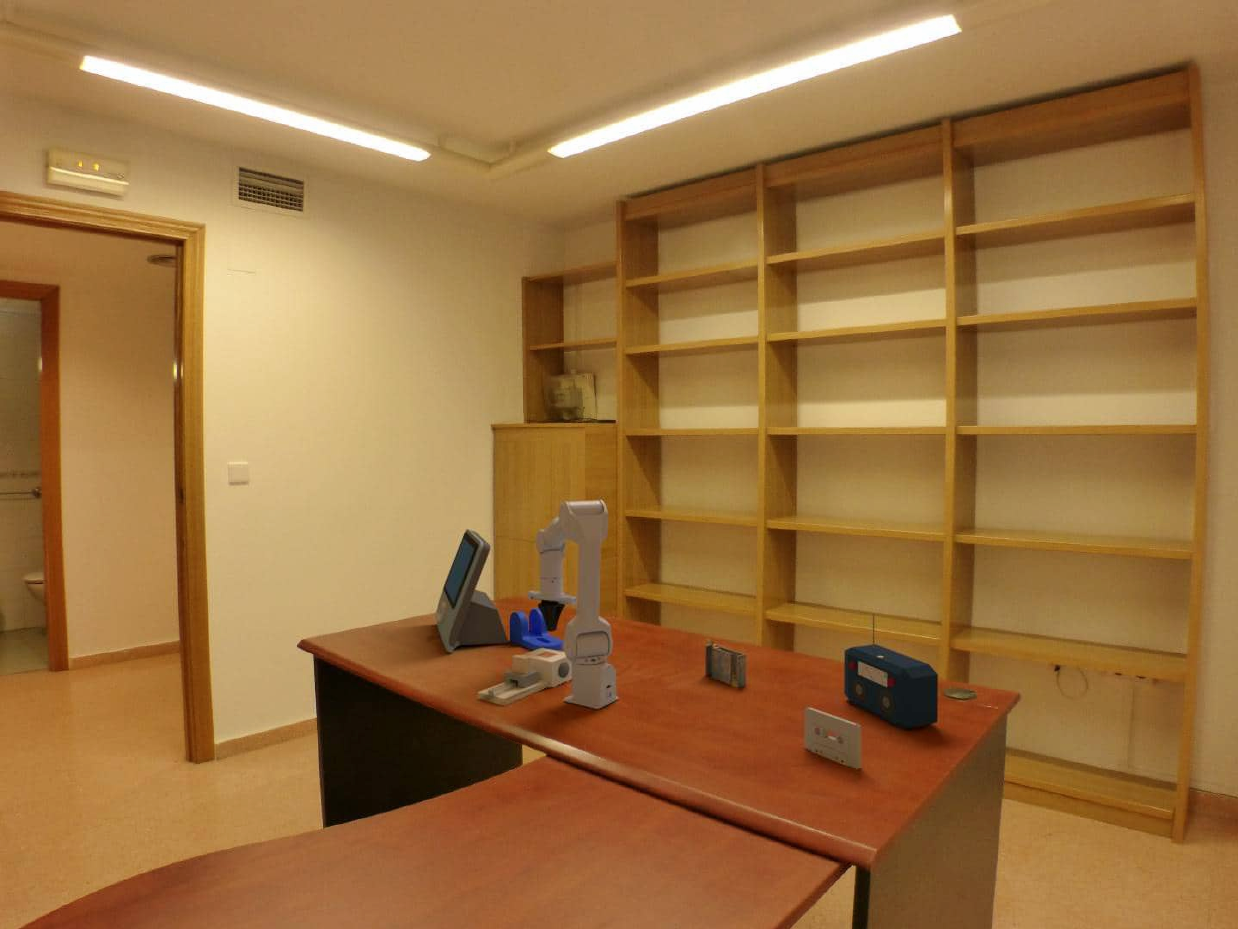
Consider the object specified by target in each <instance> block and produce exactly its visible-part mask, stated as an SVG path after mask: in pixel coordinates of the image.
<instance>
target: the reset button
mask: <svg viewBox="0 0 1238 929" xmlns="http://www.w3.org/2000/svg"><path fill="white" fill-rule="evenodd" d="M539 656H541V657H546V658H549V657H552V656H554V654H549V653H545V654H542V655H539Z"/></svg>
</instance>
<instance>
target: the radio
mask: <svg viewBox="0 0 1238 929" xmlns="http://www.w3.org/2000/svg"><path fill="white" fill-rule="evenodd" d="M843 665H844V675H843V677H844V681H843V682H844V690H843V692H844V693H843V694H844V695H845V696H846V698H847V699H848V701H849V702H850V703H851V704H852V705H854V706H857V707H858V708H860V709H862V710H865V711H866V712H867V713H870V714H872V715H874V716H876V717H878V718H880V719H882V720H884V721H886V722H888V723H890V724H892V725H894V726H895V727H898V728H900V729H901V730H906V729H907V730H908V729H913V728H919V727H924V726H925V727H926V726H929V725H933V724H935V723H938V719H939V718H938V717H939V716H938V711H939V709H938V708H939V707H938V702H939V701H938V700H939V698H938V697H939V695H938V694H939V692H938V691H939V687H938V686H939V684H938V683H939V679H938V678H939V674H938V673H937V672H936V670H934V668H933V667H932V666H931V665H930V664H929V663H926V662H924V661H921V660H918V659H916V658H913V657H910V656H908V655H905V654H902V653H900V652H897V651H895V650H892V649H890V648H887V647H884V646H882V645H879V644H876V643H875V612H874V613H872V644H867V645H865V644H864V645H859V646H858V645H857V646H850V647H849V648H847V649H845V650H844V664H843Z"/></svg>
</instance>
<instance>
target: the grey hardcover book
mask: <svg viewBox="0 0 1238 929" xmlns="http://www.w3.org/2000/svg"><path fill="white" fill-rule="evenodd" d="M704 640H705V641H706V643H709V644H708V645H705V647H704V648H705V649H704V652H705V653H704V654H705V657H704V658H705V661H704V662H705V667H704V668H705V669H704V670H705V671H704V672H705V676H710V675H711V678H712V679H715V680H718V681H720V682H722V683H725V684H728V685H730V686H733V687H735V688H741V687H745V686H746V685H747V654H746V653H742V652H739V651H736V650H733V649H730V648H727V647H724V646H720V645H718V644H717V643H716V642H715V641H714V640H713V639H709V638H705V637H704Z"/></svg>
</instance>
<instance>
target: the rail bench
mask: <svg viewBox="0 0 1238 929" xmlns="http://www.w3.org/2000/svg"><path fill="white" fill-rule="evenodd" d="M504 684H506V683H504V682H502V683H498V684H496V685H493V686H490V687H488V688H485V689H483V690H481V691H478V692H477V699H478V700H480V699H482V700H481V701H484V700H486V701H485V702H488V701H489V703H492V702H493V704H497V705H499V706H503V705H505V706H508V705H510V704H512V703H514V702H513V701H515V700H517V701H519V700H518V699H520V700H522V699H524V698H527V697H528V696H527V695H529V694H531V695H533V694H532V693H534V694H536V693H538V691H539V692H541V691H543V690H545V689H544V688H546V687H548V688H550V687H549V681H548V680H544V679H539V682H537V683H535V684H532V685H530V686H527V687H525V688H523V687H516V688H513V689H511V690H508V691H506V692H503V693H501V694H498V695H496V696H491V695H488V690H491V689H493V688H496V687H498V686H501V685H504ZM542 689H543V690H542ZM546 689H547V688H546ZM540 690H541V691H540ZM535 692H536V693H535ZM526 696H527V697H526ZM529 696H530V695H529ZM523 697H524V698H523ZM511 702H512V703H511ZM515 702H516V701H515ZM509 703H510V704H509ZM507 704H508V705H507Z"/></svg>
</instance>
